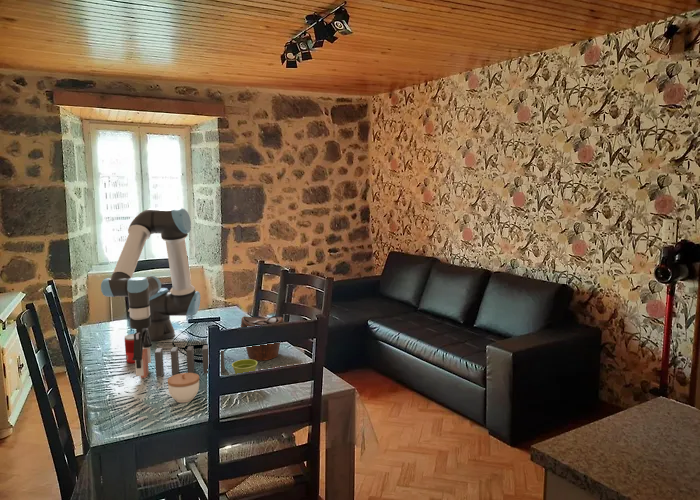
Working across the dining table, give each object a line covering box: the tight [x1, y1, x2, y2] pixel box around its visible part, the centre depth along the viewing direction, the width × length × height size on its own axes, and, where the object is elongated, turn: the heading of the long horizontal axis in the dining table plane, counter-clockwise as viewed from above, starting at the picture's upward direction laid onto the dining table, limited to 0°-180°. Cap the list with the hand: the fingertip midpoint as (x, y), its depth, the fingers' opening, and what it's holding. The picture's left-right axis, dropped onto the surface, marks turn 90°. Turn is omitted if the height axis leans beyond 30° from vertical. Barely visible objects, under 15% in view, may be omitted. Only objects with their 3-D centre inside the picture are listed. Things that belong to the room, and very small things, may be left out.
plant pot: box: [231, 358, 258, 374], centre depth 198 cm, size 9×9×9 cm
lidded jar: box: [167, 372, 200, 403], centre depth 187 cm, size 11×11×9 cm
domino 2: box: [154, 347, 165, 378], centre depth 210 cm, size 5×2×10 cm, turn 10°
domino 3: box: [170, 346, 180, 376], centre depth 211 cm, size 5×2×10 cm, turn 9°
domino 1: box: [140, 349, 150, 379], centre depth 209 cm, size 5×2×10 cm, turn 9°
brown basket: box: [240, 315, 285, 361], centre depth 230 cm, size 18×20×18 cm
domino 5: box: [201, 344, 209, 374], centre depth 213 cm, size 5×2×10 cm, turn 9°
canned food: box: [124, 333, 145, 365], centre depth 225 cm, size 8×8×11 cm
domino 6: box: [220, 350, 226, 373], centre depth 214 cm, size 5×2×10 cm, turn 10°
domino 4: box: [186, 345, 196, 373], centre depth 212 cm, size 5×2×10 cm, turn 9°
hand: (143, 369), depth 209 cm, fingers open, 13 cm apart
